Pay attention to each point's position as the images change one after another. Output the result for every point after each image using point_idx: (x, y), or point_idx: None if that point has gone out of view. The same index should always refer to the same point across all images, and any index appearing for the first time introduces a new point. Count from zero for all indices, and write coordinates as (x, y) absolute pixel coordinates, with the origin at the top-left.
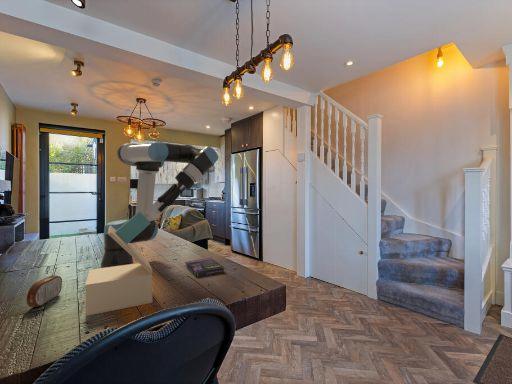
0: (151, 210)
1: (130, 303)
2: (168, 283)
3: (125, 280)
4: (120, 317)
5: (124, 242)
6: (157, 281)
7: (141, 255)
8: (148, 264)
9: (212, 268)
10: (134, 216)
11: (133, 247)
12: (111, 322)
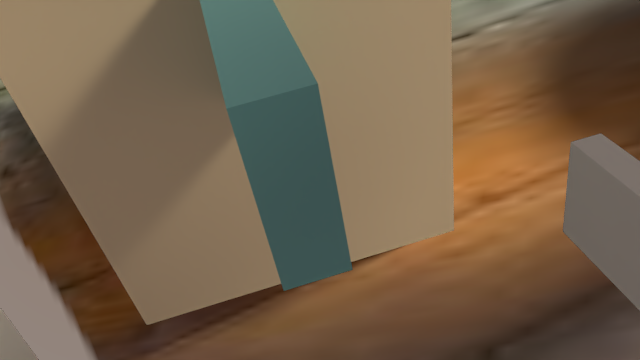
0: (624, 238)
1: None
2: (435, 356)
3: None
4: (66, 205)
5: (172, 83)
6: (479, 288)
7: (389, 200)
8: (270, 273)
9: None
10: (215, 60)
11: (410, 127)
12: (31, 182)
